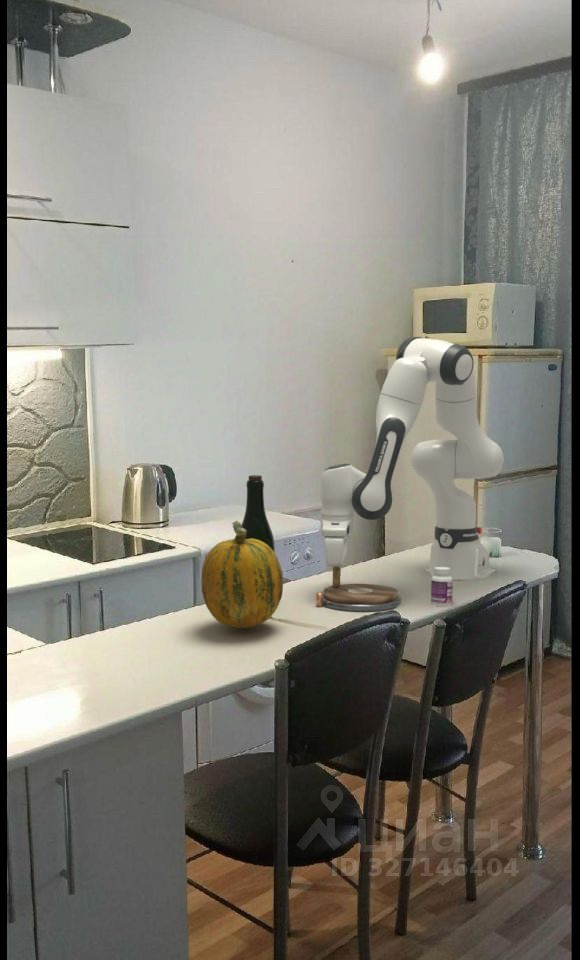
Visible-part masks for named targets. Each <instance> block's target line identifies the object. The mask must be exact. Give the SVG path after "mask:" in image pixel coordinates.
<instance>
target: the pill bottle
mask: <svg viewBox="0 0 580 960" xmlns="http://www.w3.org/2000/svg"><path fill="white" fill-rule="evenodd" d="M434 573H435V575H434V576H431V586H430V587H431V589H430V590H431V592H430V604H433V605H436V606H435V607H438V606H439V608H446V607H450V606H451V607H452V605H453V585H454V584H453V581H454V580H453V579H452V577H451V576H449V574H450V568H448V567H435V568H434ZM433 605H432V606H433Z"/></svg>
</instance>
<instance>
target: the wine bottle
mask: <svg viewBox="0 0 580 960" xmlns="http://www.w3.org/2000/svg"><path fill="white" fill-rule="evenodd" d="M262 479H263V476H262V475H259V474H258V475H255V474H252V475H249V476H248V480H247V481H246V505H245V512H244V517H243V520H242V522H241V528H244V529H245V530H246V531H247V533H246V538H245V539H250V538H253V539H257V540H260V541H262V542H264V543H266V544H267V545H268V546H269V547H270V548H271V549H272V550H273V551H274V553H275V554H276V546H275V539H274V534H273V532H272V528H271V526H270V523H269V521H268V517H267V515H266V509H265V508H266V507H265V497H264V490H265V489H264V488H265V487H264V486H265V483H264V480H262Z"/></svg>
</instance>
